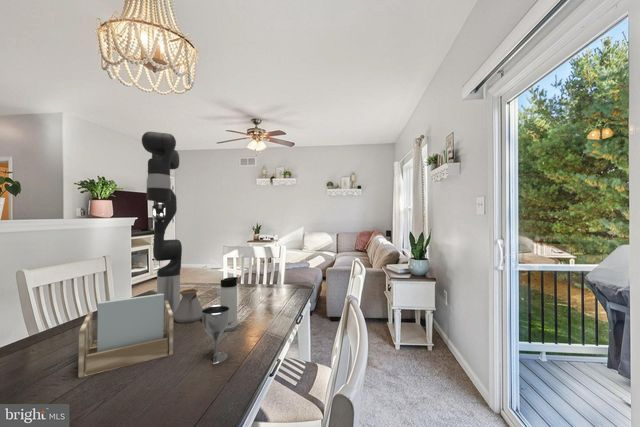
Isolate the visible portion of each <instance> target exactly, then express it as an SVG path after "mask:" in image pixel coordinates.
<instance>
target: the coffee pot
mask: <svg viewBox="0 0 640 427" xmlns="http://www.w3.org/2000/svg"><path fill="white" fill-rule="evenodd" d="M197 293H198V289H196V288H192V289H191V288H189V289H184V290H180V296H182V297H181V298H180V304H179V306H178V308H177V310H176V313H175V314H174V315H173V321H175V322H176V323H179V324H188V323H194V322H197V321H200V320H202V310H203V309H204V308H203V307H202V305H201V303H200V301H199V298H200V296H198V294H197ZM197 296H198V297H197Z"/></svg>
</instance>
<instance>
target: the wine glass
mask: <svg viewBox="0 0 640 427" xmlns="http://www.w3.org/2000/svg"><path fill="white" fill-rule="evenodd" d="M202 309H203V310H202V318H201V322H202V326H203V329H204V331H205V332H206V333H207V334H208V335H209V336H210V337H211V339H212V341H213V352H212V353H211V355H212V358H210V360H211V362H212V365H217V364H221V363H222V362H225V361H226V360H227V359H228V354H227V353H226V352H221V351H218V341H219V338H220V336H221V335H222V334H223V333H224V332H225V331H224V330H225V329H226V327H227V324H228V320H229V307H228V306H223V305H220V304H219V305H211V306H207V307H205V308H202Z"/></svg>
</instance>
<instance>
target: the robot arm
mask: <svg viewBox="0 0 640 427" xmlns="http://www.w3.org/2000/svg"><path fill="white" fill-rule="evenodd" d="M141 144H142V147H143V148H144V150H145V151H146V152H148V153H150V154H151V158H149V159H148V161H147V179H146V201H151V202H153V205H152V206H151V210H152V217H153V218H152V219H153V222H154V223H153V224H154V225H153V230H154V231H153V232H154V233H153V245H152V246H153V247H152V250H153V252H152V254H153V257H154V259H155V261H157V262H164V261H169V262H168V263H167V264H165V265H164V266H162V267H160V268H158V270H156V275H157V276H156V288H157V289H156V292H157V293H156V294H164V313H165V301H168V303H169V305H170V308H171V310H172V313H173V316H174V315H175V313H176V310H177V308H178V306H179V304H180V301H181V293H180V292H181V268H182V253H183V247H182V242H181V241H180V240H179V239H165V234H166V231H167V230H166V229H167V228H168V226H169V225H170V223H171V221H173V219H174V217H175V215H176V214H177V211H178V210H177V208H178V207H177V204H178V203H177V195H176V194H175V192H174V191H173V190H172V188H171V185H172V184H171V182H172V181H171V170H177V169H179V166H180V155H179V152H178V150H176V145H177V141H176V137H175V136H174V135H172V134H171V133H166V132H164V133H163V132H157V131H146V132H144V134H143V135H142V137H141Z"/></svg>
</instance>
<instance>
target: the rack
mask: <svg viewBox="0 0 640 427" xmlns="http://www.w3.org/2000/svg"><path fill="white" fill-rule="evenodd" d="M93 314H94V312H93V311H89V312H87V315H86V316H85V318H84V319H83V323H82V324H81V326H80V328H79V331H78V371H77V372H78V378H83V377H87V376H91V375H96V374H98V373H99V374H100V373H103V372H107V371H112V370H116V369H119V368H123V367H128V366H132V365H136V364H140V363H144V362H148V361H152V360H157V359H160V358H165V357H169V356H173V355H174V315H173V313H172V310H171V308H170V305H169V303H168V301H165V313H164V331H163V339H159V340H154V341H149V342H145V343H140V344H135V345H131V346H126V347H121V348H117V349H112V350H107V351H102V352H98V353H97V339H96V340H93Z"/></svg>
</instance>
